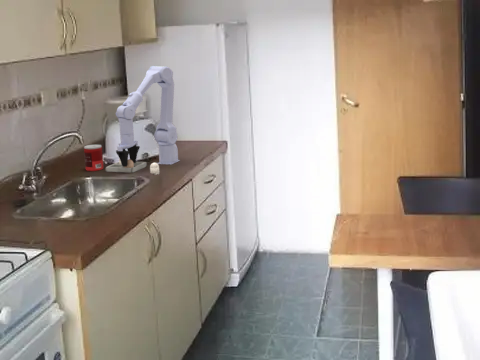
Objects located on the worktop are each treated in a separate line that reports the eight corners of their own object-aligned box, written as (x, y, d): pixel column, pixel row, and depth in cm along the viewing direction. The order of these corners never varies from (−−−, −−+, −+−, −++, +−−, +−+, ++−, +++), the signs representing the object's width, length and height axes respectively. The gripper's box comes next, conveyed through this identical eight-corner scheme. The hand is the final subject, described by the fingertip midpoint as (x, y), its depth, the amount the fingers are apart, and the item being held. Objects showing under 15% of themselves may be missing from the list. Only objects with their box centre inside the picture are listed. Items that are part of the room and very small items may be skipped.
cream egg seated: (122, 165, 305) (121, 155, 304) (129, 166, 304) (128, 155, 302) (117, 167, 301) (117, 156, 300) (125, 168, 300) (124, 157, 299)
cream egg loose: (152, 172, 292) (152, 161, 291) (160, 173, 290) (160, 161, 289) (148, 174, 288) (148, 163, 287) (157, 175, 287) (156, 163, 286)
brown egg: (127, 169, 297) (127, 158, 296) (135, 169, 296) (134, 158, 295) (123, 171, 294) (122, 160, 292) (131, 171, 292) (130, 160, 291)
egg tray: (120, 166, 307) (120, 161, 306) (147, 167, 303) (146, 162, 302) (105, 172, 295) (105, 167, 294) (133, 173, 291) (132, 168, 290)
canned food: (105, 168, 304) (103, 144, 301) (100, 172, 296) (98, 147, 293) (89, 168, 304) (87, 144, 302) (83, 172, 297) (81, 147, 294)
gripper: (126, 130, 299) (128, 160, 302) (110, 136, 286) (112, 167, 289) (141, 131, 297) (143, 161, 300) (125, 136, 283) (127, 168, 286)
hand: (129, 164), depth 294 cm, fingers open, 7 cm apart
